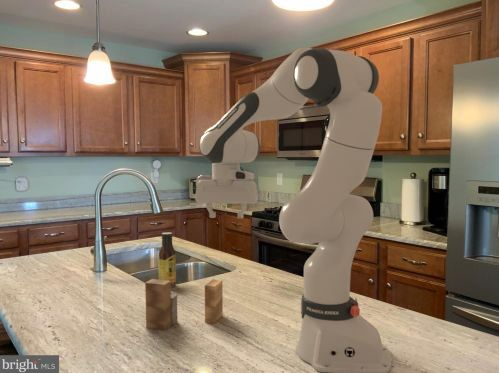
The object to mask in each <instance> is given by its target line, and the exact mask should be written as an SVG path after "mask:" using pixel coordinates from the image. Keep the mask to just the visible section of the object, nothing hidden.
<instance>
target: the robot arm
mask: <svg viewBox="0 0 499 373" xmlns="http://www.w3.org/2000/svg"><path fill="white" fill-rule="evenodd" d="M379 74H380V73H379V71H378V67H377V66H376V65H375V63H374V62H372V61H371V60H370V59H369V58H366V57H363V56H360V55H356V54H354V53H353V54H352V53H349V52H347V51H345V50H339V49H326V48H324V47H323V48H322V47H319V48H318V47H317V48H311V47H307V46H305V47H300V48H298V49H296V50H294V51H293V52H292V53H291V54H290V55H289V56H288V57H287V58H286V59H285V60H284V61H282V63H281V64H280V65H279V66H278V67H277V69H276V70H275V71H274V72H273V74H272V75H271V76H270V77H269V78H268V79H267V80H266V81H265V82H264V83H262V84H261V85H260V86H259V87H258V88H256V89H254V90H253V91H251V92H249V93H248V94H245V95H244V96H243V97H241V98H240V99H239V100H238V101H237V102H236V103H235V104H234V105H233V106H232V107H231V108H230V109H229V110H228V111H227V112H226V113H225V114H224V115H223V116H222V117H221V119H219V120H218V122H217V123H215V124H214V125H212V126H210V127H209V128H208V129H206V130H205V131H204V132H203V134H202V135H201V137H200V139H199V144H198V145H199V146H198V147H199V152H200V154H201V156H202V157H203V158H204V159H205V160H206V161H207V162H208V163H209V164H211V174H206V175H205V174H200V176H198V177H197V178H196V180H195V187H196V189H195V202H196V203H197V204H205V207H206V210H207V212H208V213H209V219H210V218H211V219H215V218H216V216H217V215H216V214H217V212H216V211H214V210H213V208H212V207H213V204H214V205H215V204H224V205H225V204H227V205H228V204H230V205H231V204H232V205H233V204H238V205H240V208H241V209H240V212H236V214H237V219H244V217H245V216H244V213H245V211H246V209H247V207H248V204H249V205H252V204H256V203H257V202H258V200H259V195H258V194H259V193H258V186H257V183H256V182H255V181H254V179H255V174H254V173H253V172H250V171H247V170H244V169H241V168H240V167H241V164H246V163H253V162H254V161H255V160H256V159H257V158H258V157H259V155H260V151H261V144H260V139H259V137H258V135H256V133H254V132H251V131H249V130H246V129H244V128H245V127H247V126H249V125H251V124H253V123H257V122H263V121H271V120H272V121H273V120H283V119H287V118H289V117H292V116H293V115H294V114H296V113H297V112H298V111H299V110H301V108H303V106H304V105H305V104H306V103H307V102H308V100H310V101H311V102H312V103H314V104H315V105H316V106H317V107H319V108H323V107H327V108H328V110H329V113H330V114H329V122H328V126H327V129H326V132H325V136H324V139H323V144H322V147H321V150H320V154H319V157H318V159H317V164H316V166H315V168H314V171H312V174H311V176H310V177H309V179H308V180H307V182H306V183H305V185H304V186H303V187H302V189H301V190H300V191H299V192H298V193H296V195H294V197H292V198H291V199H290V200H288V201H287V202H285V204H283V205H282V207H281V210H280V212H279V216H278V219H279V220H278V225H279V228H280V230H281V233H282V235H283V236H284V237H285V238H286V239H287V240H288V241H290V242H291V243H295V244H296V243H297V244H305V245H306V244H307V245H312V244H317V247H315V248H316V249H315V250H314V251H313V253H312V254H311V255H310V256H309V257H308V258H307V260H306V261H305V263H304V266H303V293H302V295H301V300H300V308H301V309H300V314H301V320H302V321H301V327H300V328H301V329H300V335H299V337H298V338H299V339H298V342H297V346H296V348H295V349H296V354H297V356H298V357H299V358H300V359H301V360H303V361H304V362H306V363H308V364H309V365H311V366H312V368H314V369H315V370H316V371H317V372H320V373H390V371H391V370H392V366H393V360H392V353H391V352H390V350H389V348H388V347H387V346H386V345H384V344H383V343H382V342H383V341H382V338H381V335H380V333H379V330H378V328H376V327H375V325H373V324H372V323H371V322H369V321H368V320H367V319H366V318H364V317H363V316H362V315H361V314H360V311H361V309H360V307H359V303H358V300H357V298H353V297H351V296H350V294H351V273H352V266H353V260H354V257H355V255H356V253H357V252H356V251H357V249H358V246H359V244H360V241H361V240H362V238H363V237H364V235H365V234H366V232H368V231H369V230H370V229H371V227H372V225H373V222H374V210H373V207H372V206H371V204H370V202H369V201H368V199H366V198H365V197H363V196H361V195H356V194H350V193H352V192H353V190H354V189H356V188H358V187H359V186H360V185H361V184H362V183H363V182H364V180H365V179H366V176H367V174H368V170H369V167H370V164H371V161H372V158H373V154H374V152H375V148H376V144H377V141H378V137H379V133H380V129H381V124H382V123H381V122H382V116H383V104H382V102H381V100H380V99H379V97H378V96H377V95H375V94H374V93H375V92H376V90H377V88H378V86H379V82H380V81H379V80H380V75H379ZM240 163H241V164H240Z"/></svg>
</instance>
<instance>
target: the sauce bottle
mask: <svg viewBox="0 0 499 373" xmlns="http://www.w3.org/2000/svg"><path fill="white" fill-rule="evenodd" d="M173 236H174V235H173V232H162V233H161V247H160V248H159V251H158V280H167V281H171V288H174V287H175V286H176V282H177V274H176V272H177V270H176V269H177V266H176V265H177V259H176V258H177V256H176V255H177V254H176V252H175V251H176V250H175V248H174V245H173Z"/></svg>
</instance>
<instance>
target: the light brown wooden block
mask: <svg viewBox="0 0 499 373" xmlns="http://www.w3.org/2000/svg"><path fill="white" fill-rule="evenodd" d="M223 295H224V294H223V279H211V280H209V282H207V283H206V284H205V285H204V323H207V324H208V323H209V324H215V325H216V323H217V322H218V321H219V320H221V318H222V317H223V315H224V314H223V313H224V312H223V309H224V308H223V307H224V305H223V303H224V302H223V297H224V296H223Z"/></svg>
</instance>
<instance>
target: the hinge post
mask: <svg viewBox="0 0 499 373" xmlns="http://www.w3.org/2000/svg"><path fill="white" fill-rule="evenodd" d="M144 284H145V285H144V287H145V326H146V327H145V328H146V329H154V330H159V331H160V330H161V331H167V330H168V329H169V328H170V327H171V326H174V325H175V324H176V323H177V322H178V294H172V287H171V281H167V280H159V279H155V278H151V279H150V280H148V281H146V282H145V283H144Z"/></svg>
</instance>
